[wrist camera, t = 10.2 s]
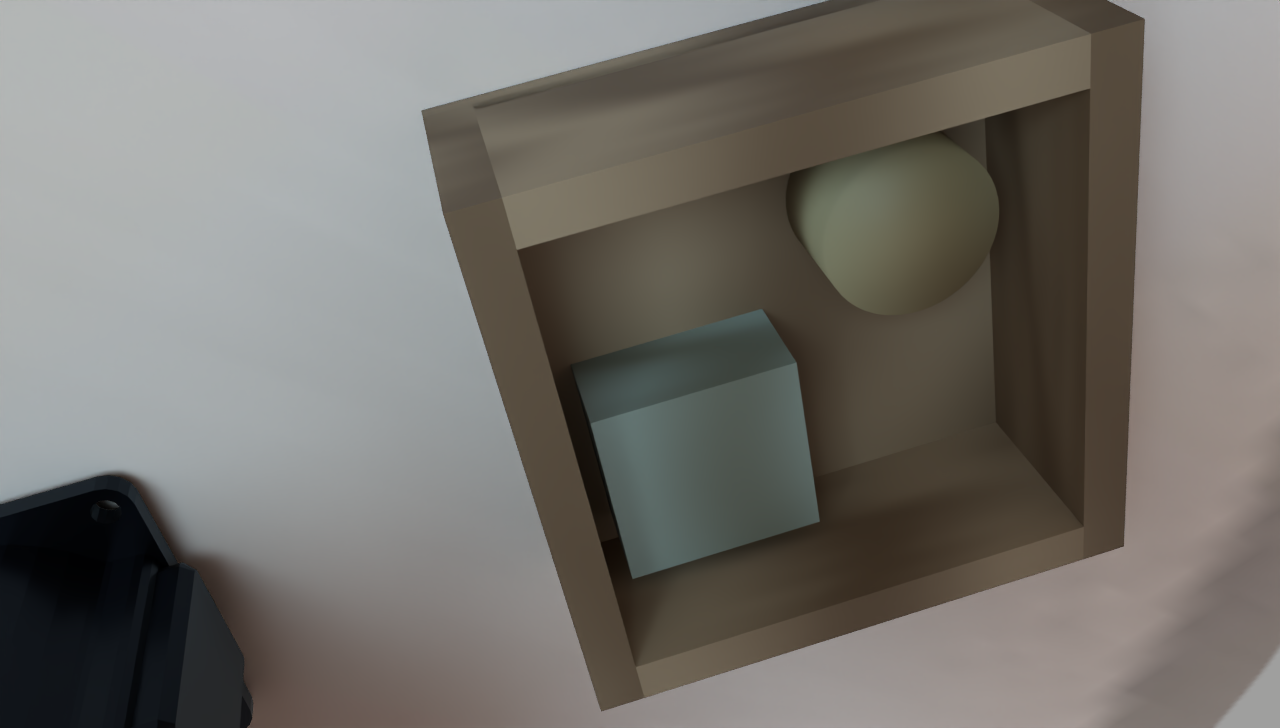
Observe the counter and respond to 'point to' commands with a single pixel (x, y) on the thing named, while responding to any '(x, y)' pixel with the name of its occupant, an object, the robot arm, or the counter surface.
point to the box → (809, 316)
